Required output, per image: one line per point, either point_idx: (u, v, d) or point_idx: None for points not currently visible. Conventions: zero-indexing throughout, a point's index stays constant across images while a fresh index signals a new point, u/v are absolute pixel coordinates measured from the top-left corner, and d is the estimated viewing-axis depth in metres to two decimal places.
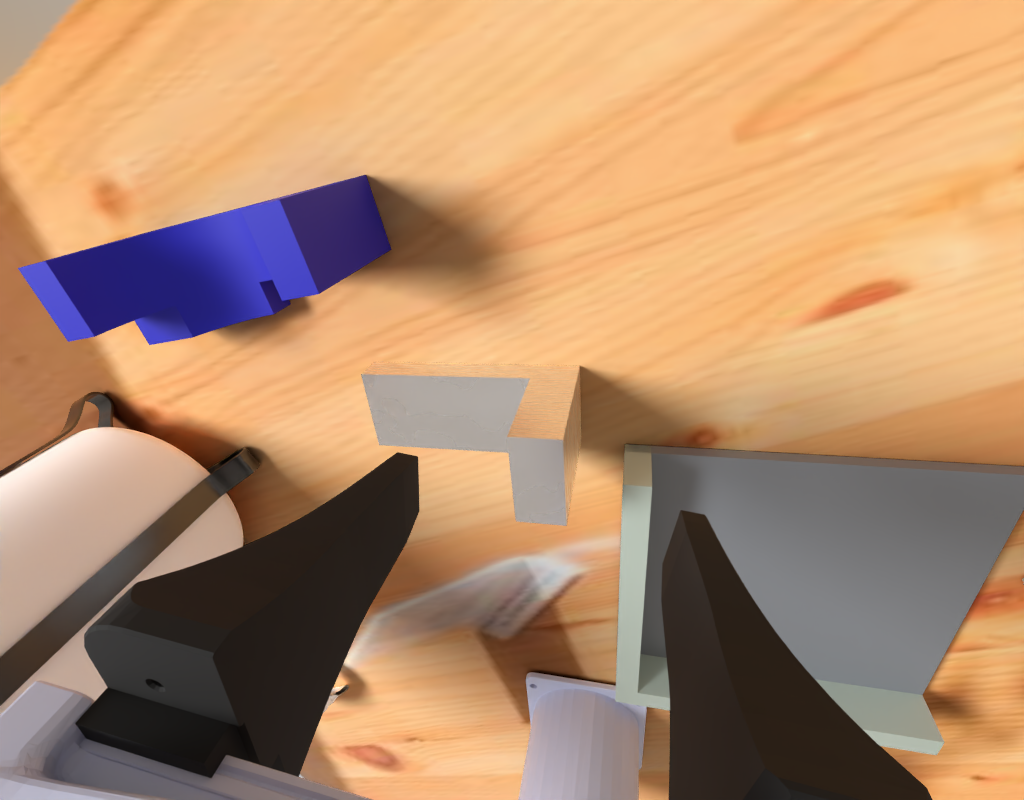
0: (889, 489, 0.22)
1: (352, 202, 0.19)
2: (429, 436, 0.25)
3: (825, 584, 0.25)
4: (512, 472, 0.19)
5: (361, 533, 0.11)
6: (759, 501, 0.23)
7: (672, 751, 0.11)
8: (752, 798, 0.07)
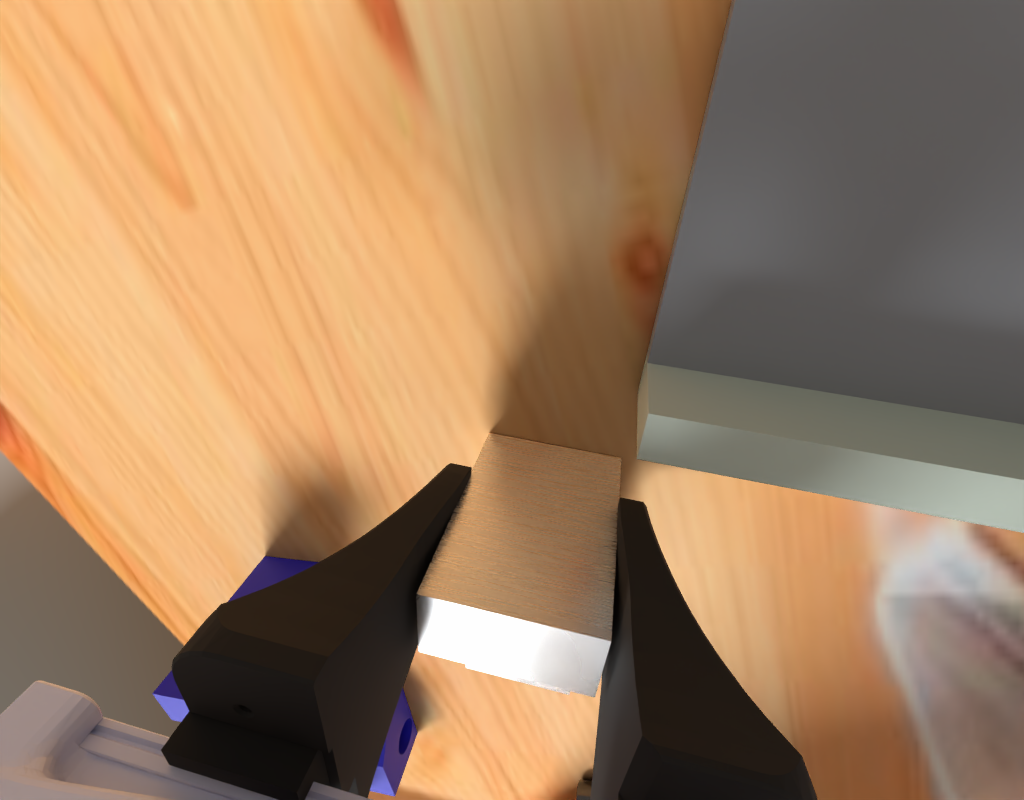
0: None
1: None
2: None
3: None
4: (485, 667, 0.11)
5: (425, 548, 0.11)
6: (827, 154, 0.10)
7: (598, 731, 0.11)
8: (635, 766, 0.07)
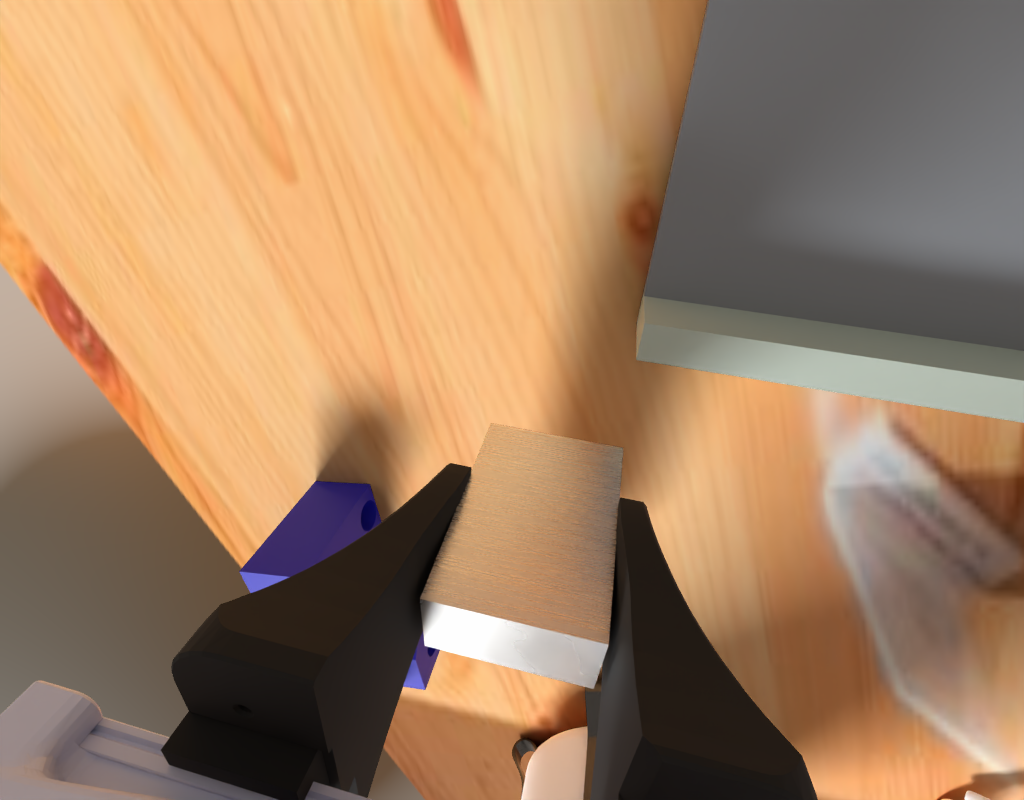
0: None
1: (310, 505, 0.24)
2: None
3: None
4: (489, 661, 0.12)
5: (425, 548, 0.11)
6: (768, 136, 0.14)
7: (598, 731, 0.11)
8: (635, 766, 0.07)
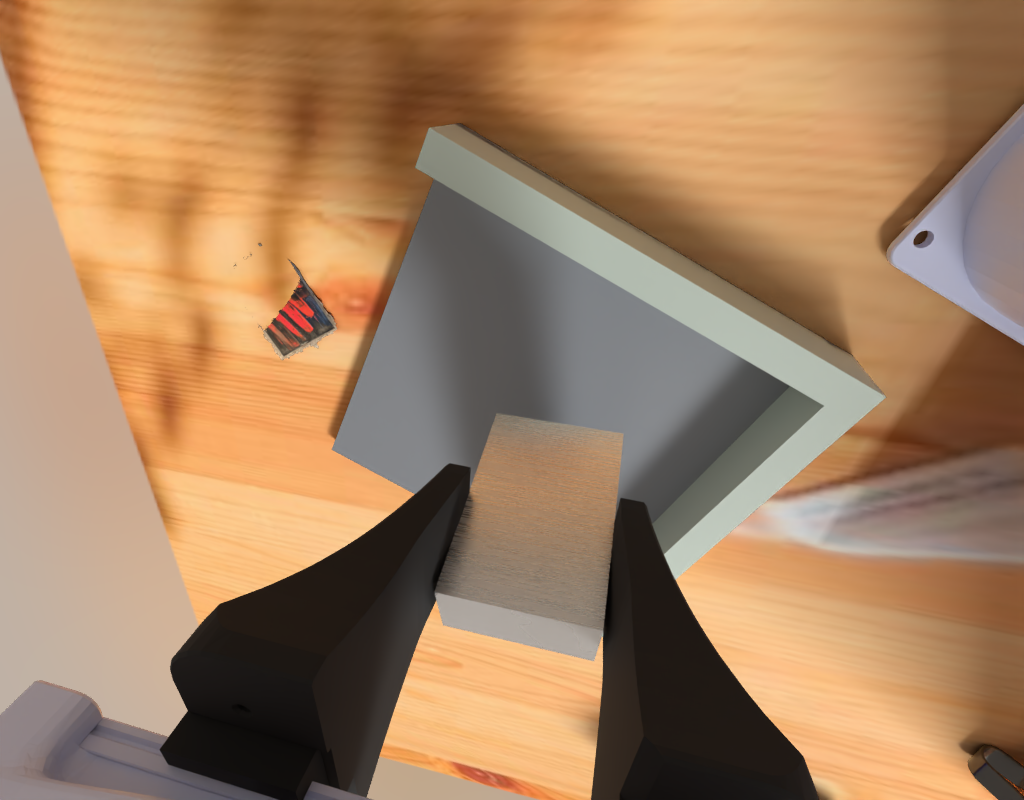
0: None
1: None
2: None
3: (504, 406, 0.22)
4: (500, 638, 0.13)
5: (425, 548, 0.11)
6: None
7: (599, 731, 0.11)
8: (636, 766, 0.07)
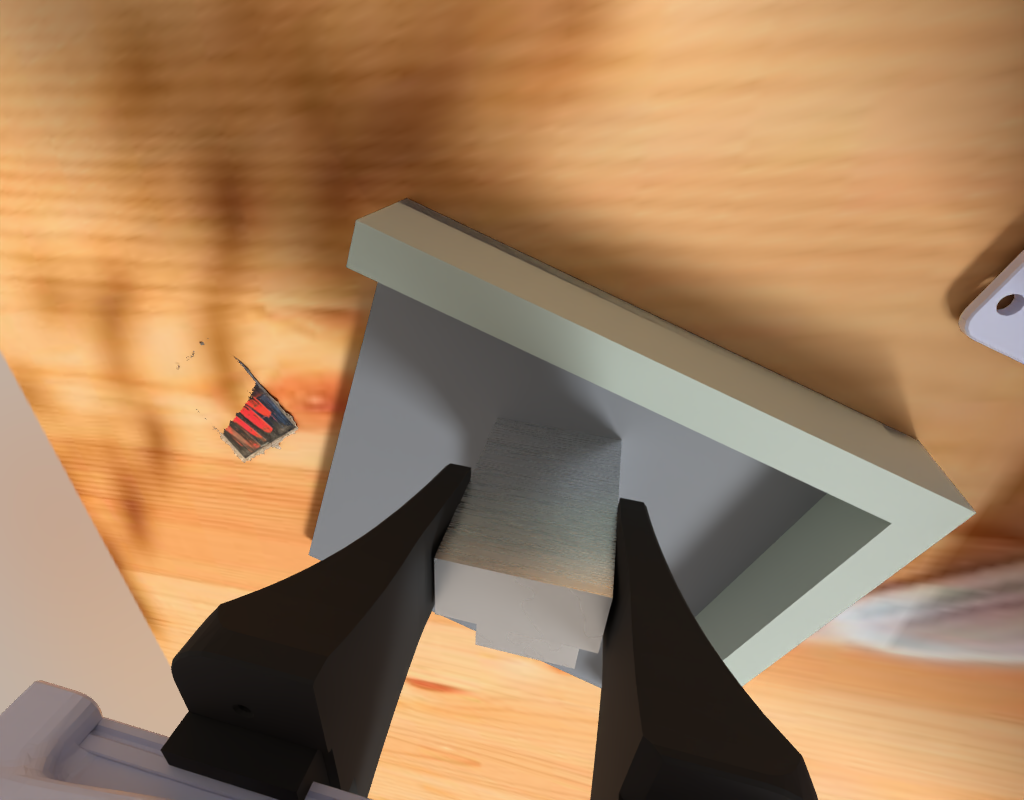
0: None
1: None
2: None
3: None
4: (497, 627, 0.12)
5: (425, 548, 0.11)
6: None
7: (598, 731, 0.11)
8: (635, 766, 0.07)
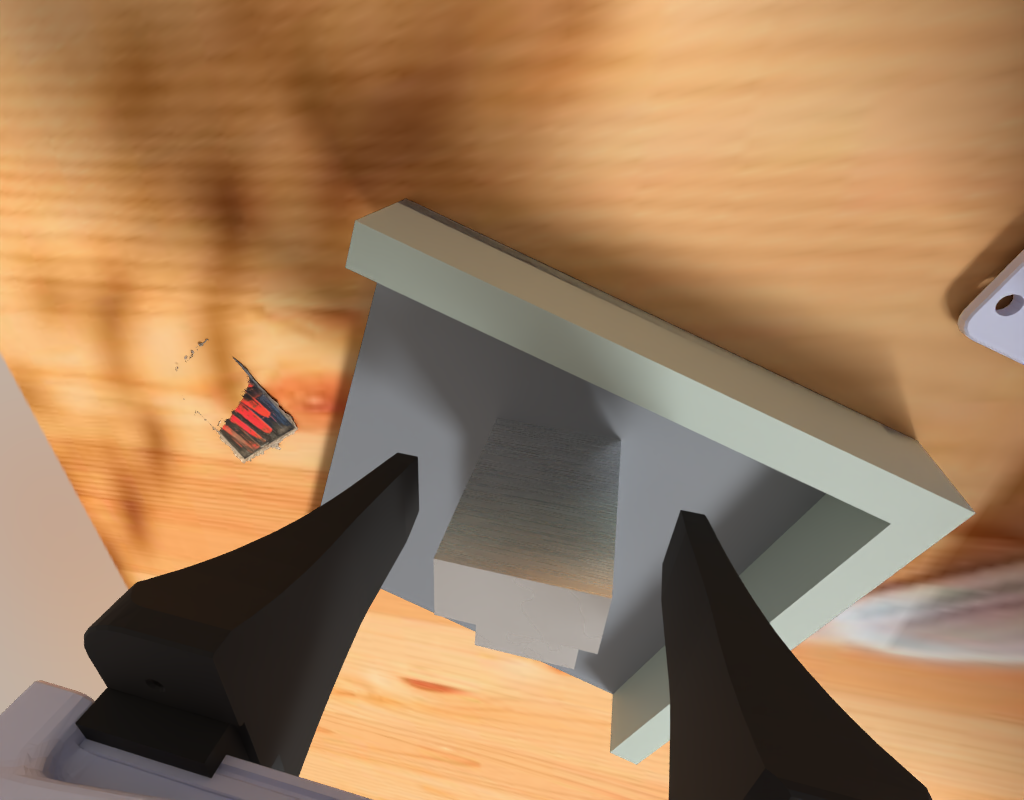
0: (418, 587, 0.22)
1: None
2: None
3: None
4: (496, 628, 0.12)
5: (361, 533, 0.11)
6: None
7: (672, 751, 0.11)
8: (752, 798, 0.07)
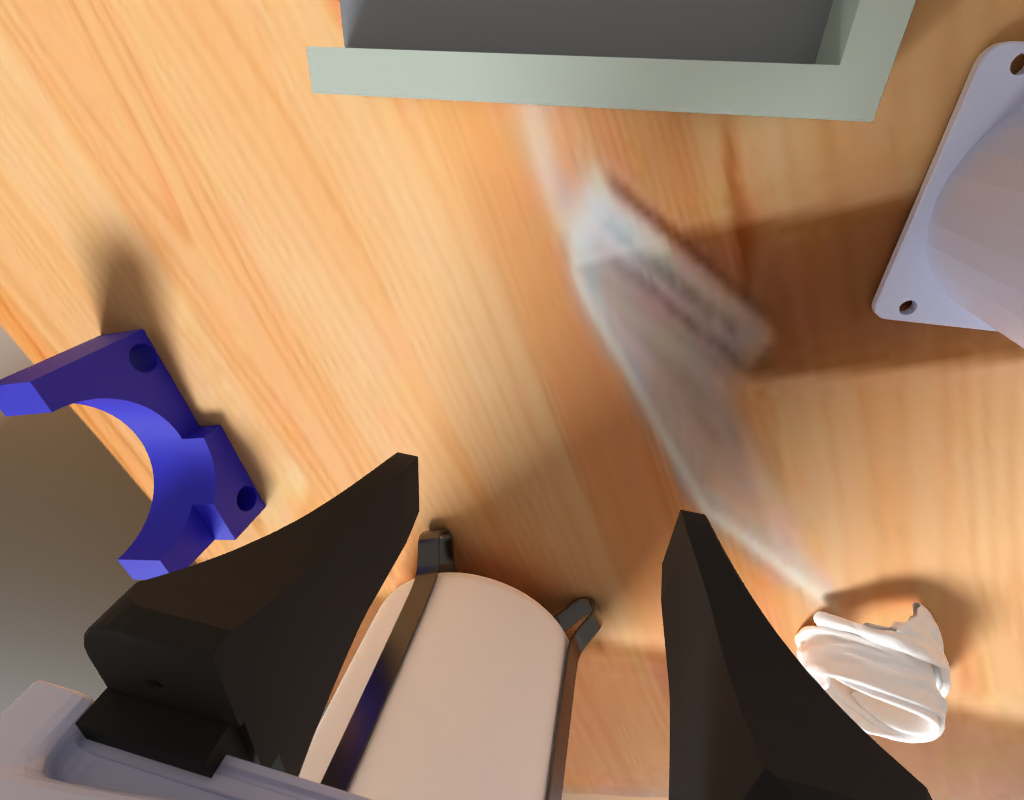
0: None
1: (81, 347, 0.26)
2: None
3: None
4: None
5: (361, 533, 0.11)
6: None
7: (672, 751, 0.11)
8: (752, 798, 0.07)
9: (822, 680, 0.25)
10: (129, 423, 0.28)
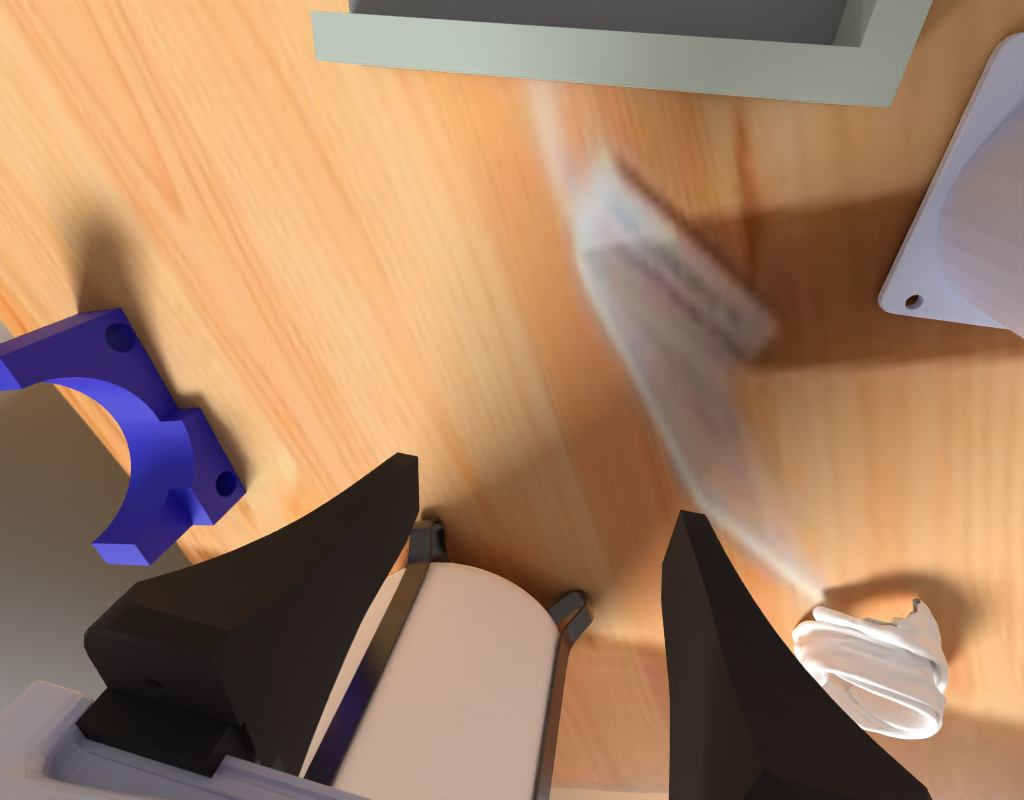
0: None
1: (56, 324, 0.25)
2: None
3: None
4: None
5: (361, 533, 0.11)
6: None
7: (672, 751, 0.11)
8: (752, 798, 0.07)
9: (820, 675, 0.25)
10: (106, 404, 0.27)
